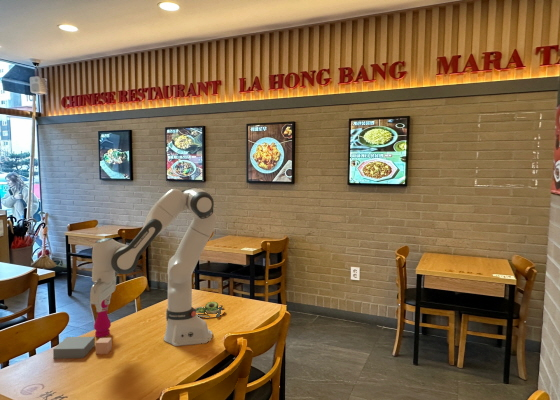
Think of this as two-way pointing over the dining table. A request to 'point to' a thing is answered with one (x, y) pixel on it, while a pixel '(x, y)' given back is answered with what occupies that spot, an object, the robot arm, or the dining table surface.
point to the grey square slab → (74, 347)
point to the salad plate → (210, 309)
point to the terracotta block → (103, 345)
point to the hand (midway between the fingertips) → (103, 307)
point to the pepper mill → (102, 322)
